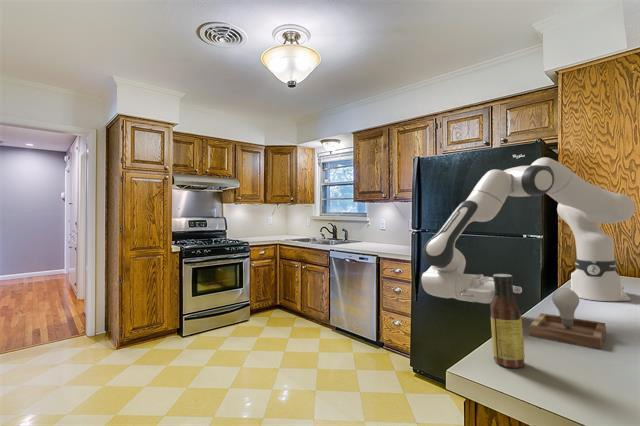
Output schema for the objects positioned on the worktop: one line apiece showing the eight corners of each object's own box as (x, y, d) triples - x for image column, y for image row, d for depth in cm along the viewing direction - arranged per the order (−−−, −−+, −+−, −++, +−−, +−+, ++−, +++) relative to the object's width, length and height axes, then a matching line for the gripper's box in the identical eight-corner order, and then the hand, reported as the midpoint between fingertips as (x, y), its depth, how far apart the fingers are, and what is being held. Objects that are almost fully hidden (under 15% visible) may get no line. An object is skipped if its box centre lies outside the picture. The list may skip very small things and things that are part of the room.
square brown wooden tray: (541, 321, 103) (541, 313, 103) (605, 332, 92) (605, 322, 92) (529, 335, 92) (528, 326, 92) (600, 349, 81) (599, 338, 81)
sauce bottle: (531, 366, 74) (528, 276, 74) (509, 371, 72) (505, 279, 72) (507, 355, 80) (504, 271, 80) (485, 359, 78) (482, 274, 78)
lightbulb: (586, 331, 90) (582, 290, 90) (561, 331, 91) (557, 291, 91) (574, 323, 96) (570, 285, 96) (550, 324, 97) (547, 286, 97)
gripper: (456, 283, 103) (506, 289, 93) (480, 273, 117) (525, 277, 108) (457, 304, 103) (507, 312, 93) (480, 291, 117) (526, 296, 108)
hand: (517, 293), depth 100 cm, fingers open, 8 cm apart
